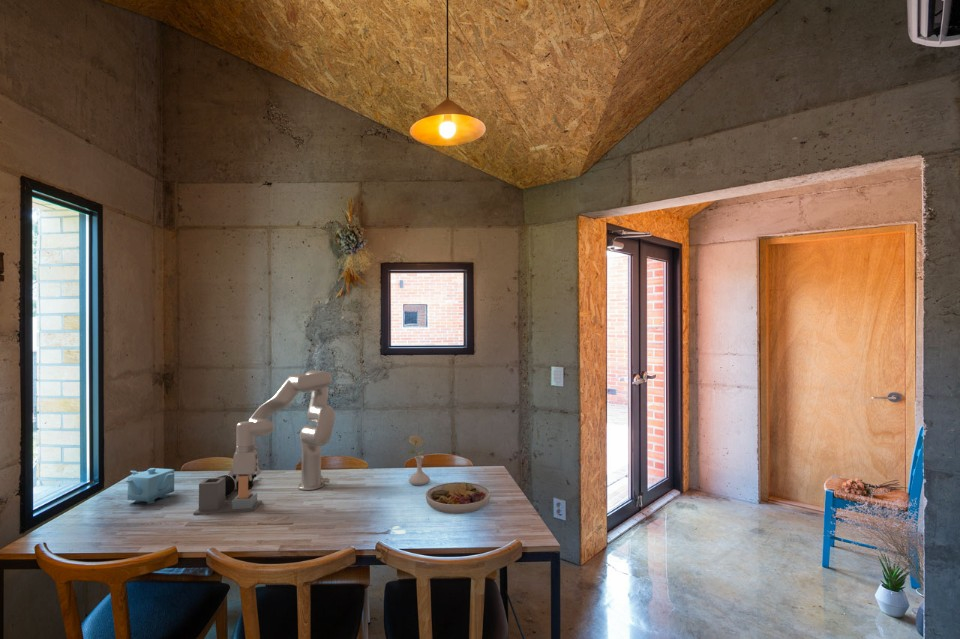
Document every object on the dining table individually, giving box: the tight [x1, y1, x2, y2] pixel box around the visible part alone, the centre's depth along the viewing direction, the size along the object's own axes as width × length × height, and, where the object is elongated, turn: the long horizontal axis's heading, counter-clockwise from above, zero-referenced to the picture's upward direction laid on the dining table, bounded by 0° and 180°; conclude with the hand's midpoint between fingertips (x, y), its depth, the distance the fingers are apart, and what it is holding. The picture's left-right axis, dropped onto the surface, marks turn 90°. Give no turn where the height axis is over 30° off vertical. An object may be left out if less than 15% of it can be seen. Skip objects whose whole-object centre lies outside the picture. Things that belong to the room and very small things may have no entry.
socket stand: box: [192, 477, 263, 516], centre depth 208 cm, size 25×11×13 cm, turn 99°
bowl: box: [425, 481, 491, 515], centre depth 213 cm, size 30×30×8 cm
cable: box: [216, 474, 255, 498], centre depth 231 cm, size 10×34×10 cm, turn 173°
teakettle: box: [124, 467, 175, 505], centre depth 220 cm, size 19×19×15 cm
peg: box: [237, 474, 252, 499], centre depth 209 cm, size 4×4×10 cm
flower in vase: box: [408, 434, 431, 486], centre depth 242 cm, size 13×11×25 cm
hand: (244, 488), depth 209 cm, fingers closed on peg, 4 cm apart
